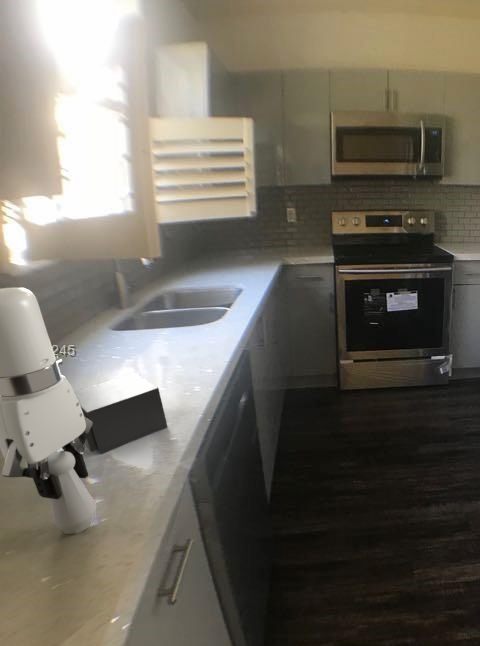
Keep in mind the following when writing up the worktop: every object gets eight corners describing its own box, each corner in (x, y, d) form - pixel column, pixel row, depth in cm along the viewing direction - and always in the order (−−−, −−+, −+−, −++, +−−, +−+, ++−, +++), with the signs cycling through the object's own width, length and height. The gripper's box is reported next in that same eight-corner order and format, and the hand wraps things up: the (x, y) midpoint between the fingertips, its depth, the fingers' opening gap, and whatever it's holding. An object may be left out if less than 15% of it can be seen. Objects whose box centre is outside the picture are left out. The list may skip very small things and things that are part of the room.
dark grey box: (99, 454, 91) (87, 412, 88) (79, 432, 99) (67, 393, 96) (167, 427, 100) (158, 387, 97) (144, 409, 108) (135, 372, 105)
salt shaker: (86, 508, 76) (63, 441, 72) (108, 518, 74) (86, 450, 69) (49, 531, 72) (23, 462, 67) (71, 543, 69) (46, 471, 64)
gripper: (57, 354, 72) (88, 452, 78) (-60, 405, 56) (-8, 522, 63) (98, 357, 70) (126, 457, 77) (-11, 410, 55) (36, 529, 62)
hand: (65, 485), depth 70 cm, fingers closed on salt shaker, 4 cm apart
